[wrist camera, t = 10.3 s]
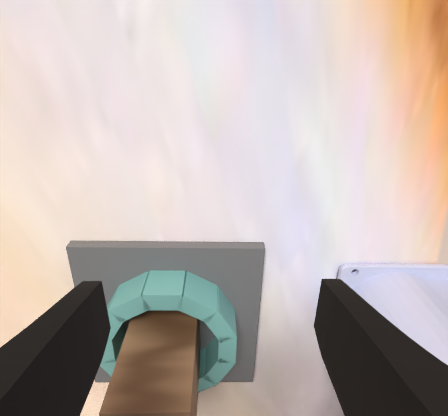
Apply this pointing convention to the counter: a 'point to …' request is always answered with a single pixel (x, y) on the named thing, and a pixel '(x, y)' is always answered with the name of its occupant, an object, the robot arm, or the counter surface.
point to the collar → (180, 296)
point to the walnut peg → (156, 367)
